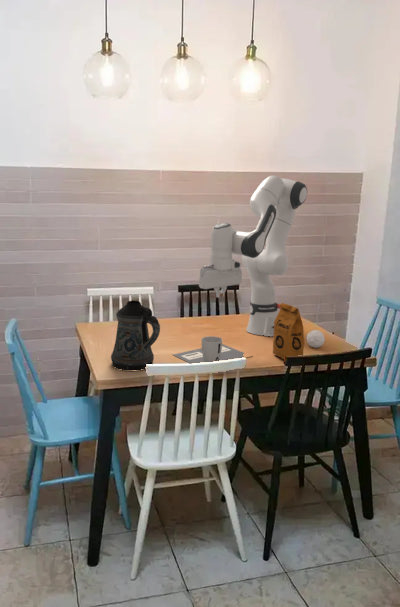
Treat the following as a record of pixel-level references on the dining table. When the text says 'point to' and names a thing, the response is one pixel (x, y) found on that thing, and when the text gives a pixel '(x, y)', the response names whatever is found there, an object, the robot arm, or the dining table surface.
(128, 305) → the beer stein
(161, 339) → the dining table surface
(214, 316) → the dining table surface
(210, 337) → the cup
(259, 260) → the robot arm
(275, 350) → the coffee package
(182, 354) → the label sheet
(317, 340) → the geometric ball
